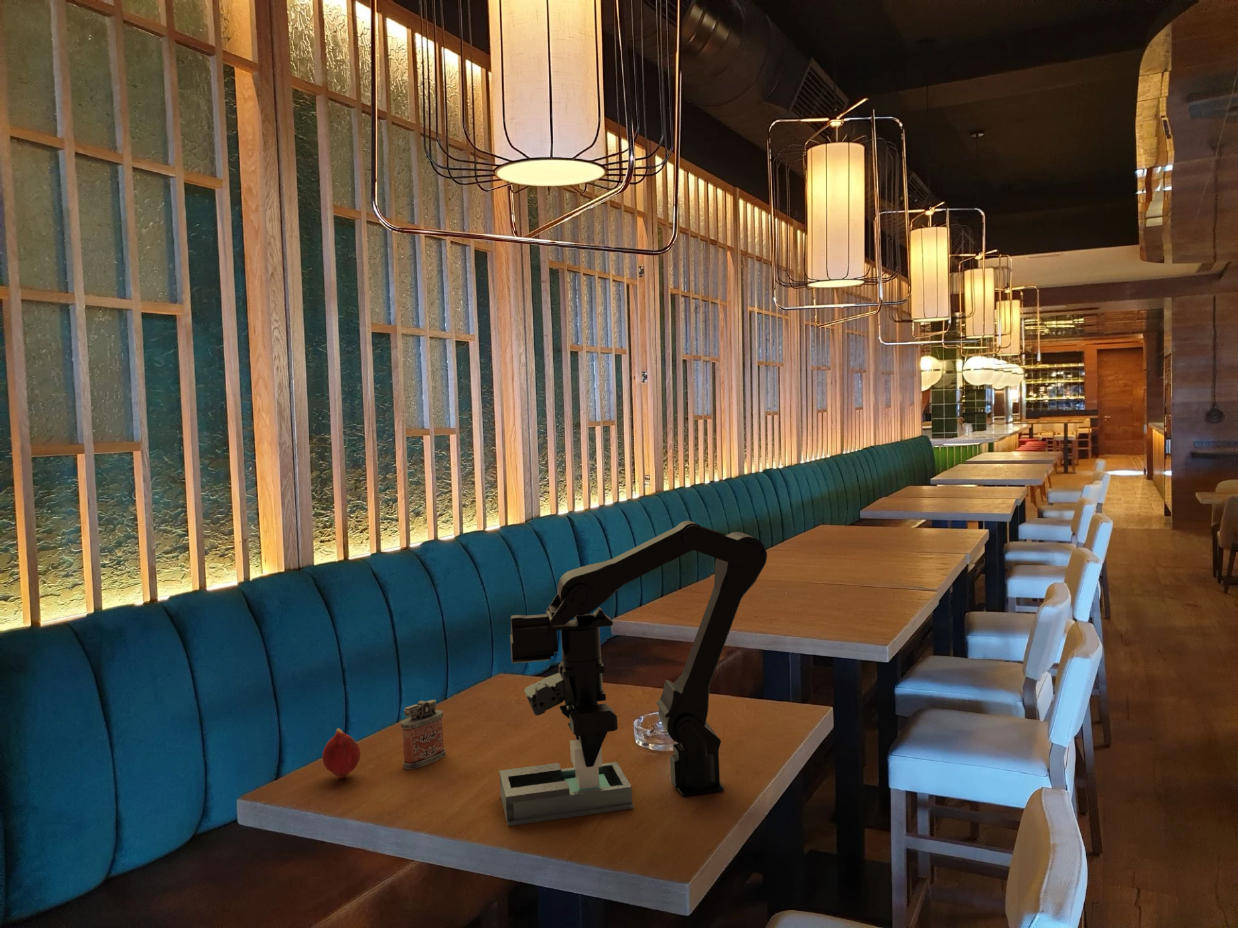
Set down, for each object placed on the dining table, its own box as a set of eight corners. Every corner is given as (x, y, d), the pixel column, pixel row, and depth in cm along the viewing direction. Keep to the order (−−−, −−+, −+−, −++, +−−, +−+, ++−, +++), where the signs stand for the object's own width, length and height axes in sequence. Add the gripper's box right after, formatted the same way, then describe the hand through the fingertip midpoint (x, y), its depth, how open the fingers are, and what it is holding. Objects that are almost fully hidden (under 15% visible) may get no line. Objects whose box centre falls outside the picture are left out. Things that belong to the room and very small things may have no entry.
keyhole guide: (616, 779, 143) (615, 754, 143) (633, 808, 133) (631, 780, 132) (500, 794, 140) (499, 769, 139) (507, 826, 129) (506, 798, 129)
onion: (368, 771, 151) (365, 723, 151) (348, 785, 146) (344, 736, 146) (338, 769, 153) (334, 721, 153) (316, 783, 148) (313, 733, 147)
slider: (603, 781, 140) (601, 734, 140) (612, 797, 135) (609, 747, 134) (564, 786, 139) (562, 739, 139) (571, 802, 133) (568, 753, 133)
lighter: (437, 751, 159) (433, 694, 159) (449, 755, 157) (446, 697, 157) (398, 766, 153) (395, 707, 153) (411, 770, 151) (408, 710, 151)
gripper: (519, 647, 143) (525, 746, 144) (535, 680, 125) (541, 793, 126) (590, 640, 145) (595, 737, 146) (615, 671, 127) (621, 782, 128)
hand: (586, 761), depth 137 cm, fingers closed on slider, 4 cm apart
